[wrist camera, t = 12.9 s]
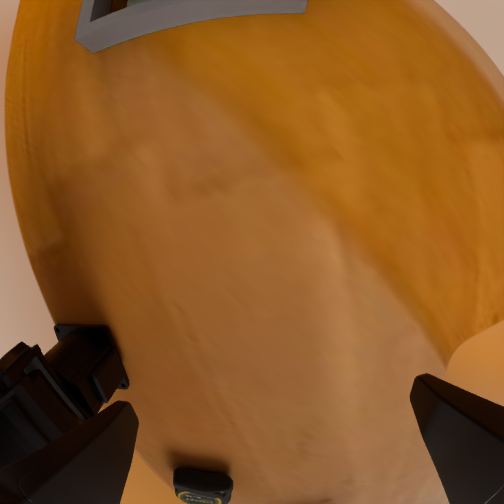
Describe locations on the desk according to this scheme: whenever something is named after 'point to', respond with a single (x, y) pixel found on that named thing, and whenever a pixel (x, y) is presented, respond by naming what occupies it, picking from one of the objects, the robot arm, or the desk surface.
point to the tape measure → (202, 487)
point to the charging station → (162, 17)
